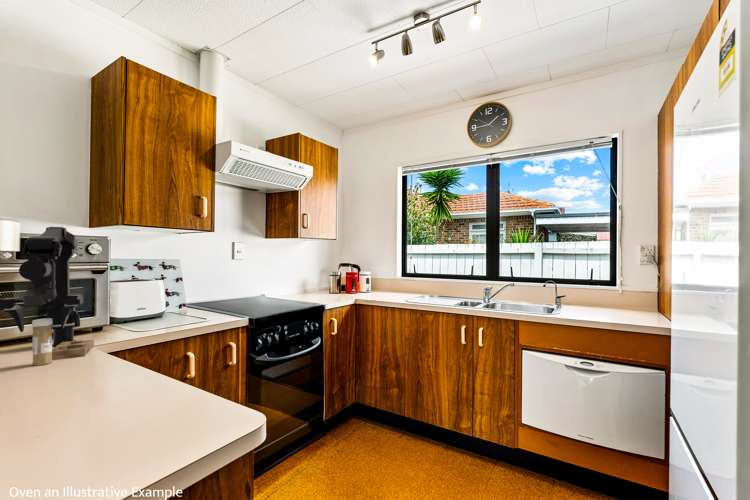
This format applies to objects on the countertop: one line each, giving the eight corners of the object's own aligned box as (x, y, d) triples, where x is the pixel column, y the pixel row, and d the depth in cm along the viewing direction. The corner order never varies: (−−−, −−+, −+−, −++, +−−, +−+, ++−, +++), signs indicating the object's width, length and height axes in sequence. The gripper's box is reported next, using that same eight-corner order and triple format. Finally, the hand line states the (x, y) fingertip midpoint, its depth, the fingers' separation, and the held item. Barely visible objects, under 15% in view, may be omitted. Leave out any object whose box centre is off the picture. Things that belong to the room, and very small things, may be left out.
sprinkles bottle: (50, 364, 108) (50, 319, 108) (30, 366, 106) (30, 321, 106) (53, 360, 112) (53, 317, 112) (33, 363, 110) (34, 318, 110)
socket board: (94, 346, 131) (94, 339, 131) (84, 355, 117) (84, 348, 117) (61, 349, 126) (61, 342, 126) (48, 360, 113) (48, 352, 113)
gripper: (-13, 281, 98) (-13, 339, 98) (75, 278, 107) (75, 331, 107) (4, 279, 108) (4, 331, 107) (83, 276, 117) (83, 325, 116)
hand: (42, 330), depth 109 cm, fingers open, 9 cm apart
